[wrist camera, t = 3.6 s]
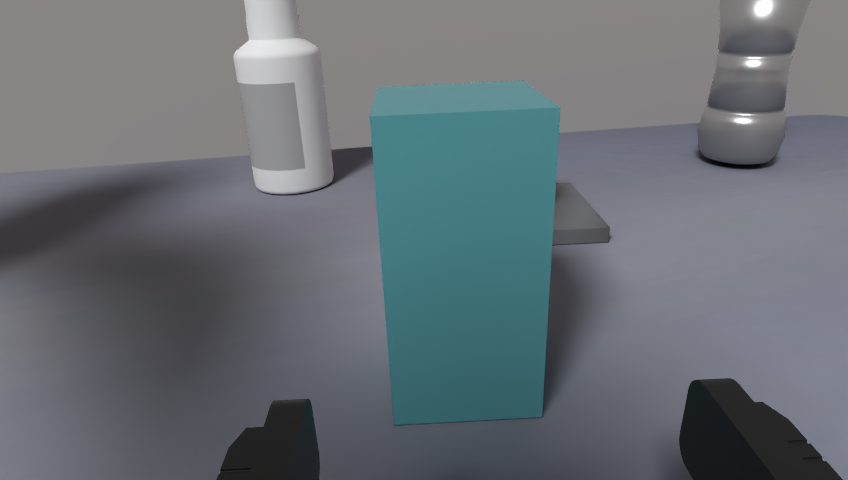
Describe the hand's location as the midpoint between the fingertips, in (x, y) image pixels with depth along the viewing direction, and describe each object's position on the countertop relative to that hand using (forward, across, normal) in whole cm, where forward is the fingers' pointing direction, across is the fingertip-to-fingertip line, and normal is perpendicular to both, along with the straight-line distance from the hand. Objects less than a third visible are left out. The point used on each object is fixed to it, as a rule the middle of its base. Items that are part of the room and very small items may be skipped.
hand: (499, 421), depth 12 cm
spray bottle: (+38, +12, +7) cm, 40 cm away
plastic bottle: (+38, -27, +7) cm, 47 cm away
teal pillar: (+10, 0, +6) cm, 12 cm away
